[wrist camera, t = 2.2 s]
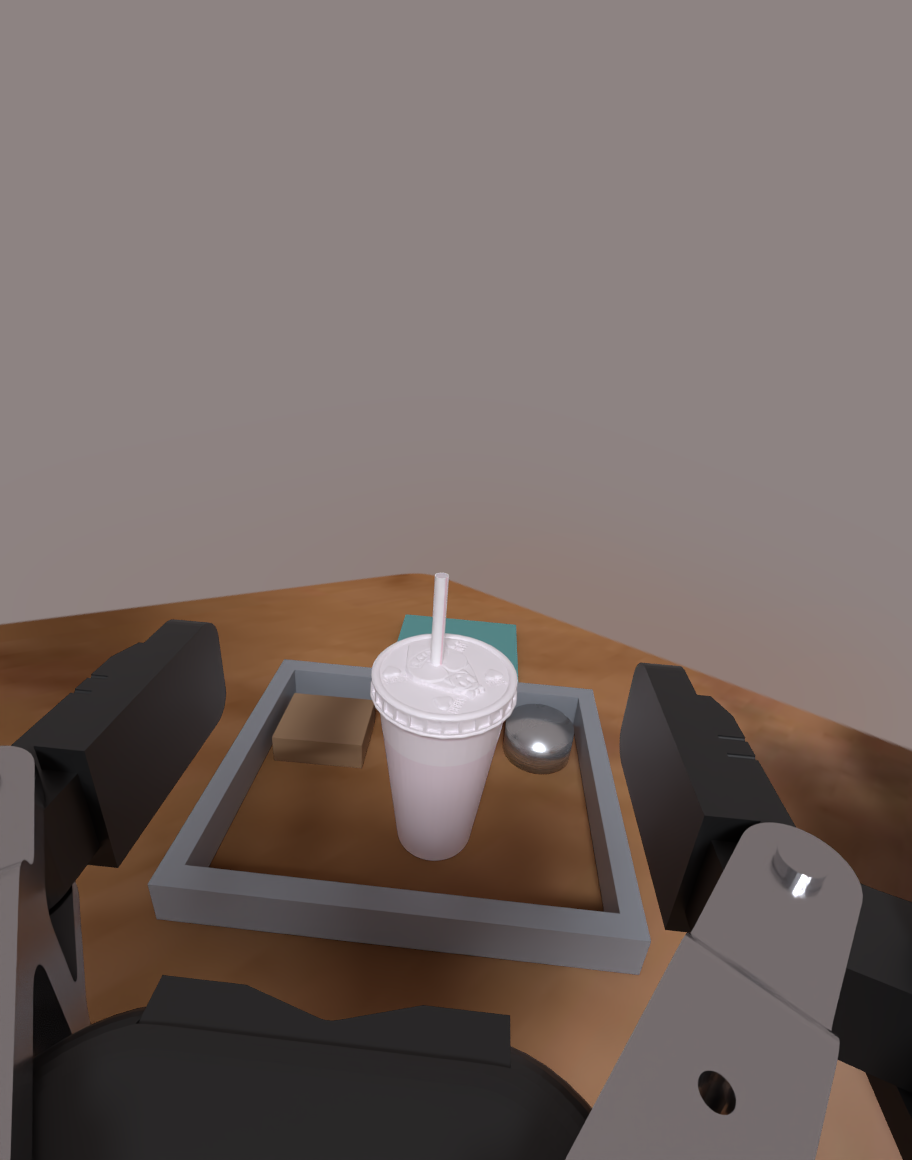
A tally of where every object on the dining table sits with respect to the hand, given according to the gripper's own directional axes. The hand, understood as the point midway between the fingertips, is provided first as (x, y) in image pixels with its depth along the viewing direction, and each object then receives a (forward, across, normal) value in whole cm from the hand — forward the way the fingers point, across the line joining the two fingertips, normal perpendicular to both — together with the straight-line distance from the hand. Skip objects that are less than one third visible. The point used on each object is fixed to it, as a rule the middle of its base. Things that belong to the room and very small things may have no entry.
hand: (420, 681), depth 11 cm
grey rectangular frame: (+14, +1, +17) cm, 22 cm away
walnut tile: (+17, +7, +18) cm, 25 cm away
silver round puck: (+18, -5, +17) cm, 26 cm away
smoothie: (+12, 0, +18) cm, 21 cm away
